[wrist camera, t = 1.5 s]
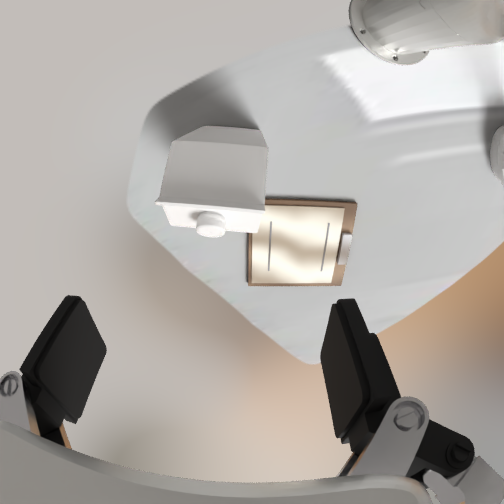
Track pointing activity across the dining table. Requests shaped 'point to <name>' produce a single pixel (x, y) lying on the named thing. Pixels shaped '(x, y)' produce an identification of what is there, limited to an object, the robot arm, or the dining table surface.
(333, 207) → the clipboard
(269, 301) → the dining table surface
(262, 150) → the milk carton
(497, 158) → the flag stand
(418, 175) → the dining table surface
